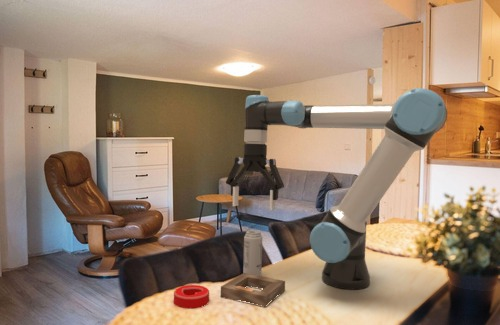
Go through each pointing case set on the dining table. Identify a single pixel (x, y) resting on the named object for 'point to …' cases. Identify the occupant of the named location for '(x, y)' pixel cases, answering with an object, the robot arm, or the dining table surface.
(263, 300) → the frame
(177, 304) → the decorative ornament
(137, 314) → the dining table surface
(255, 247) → the energy drink can
